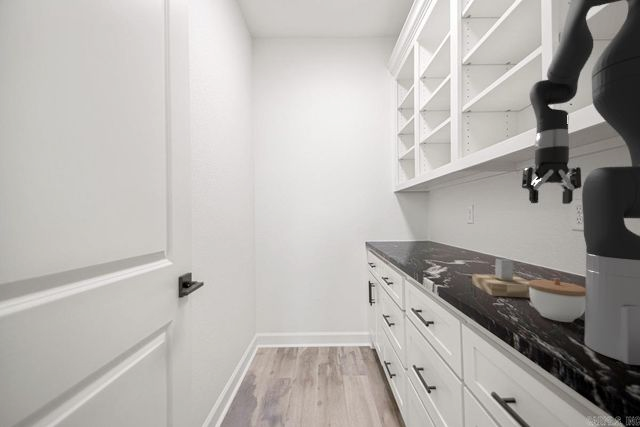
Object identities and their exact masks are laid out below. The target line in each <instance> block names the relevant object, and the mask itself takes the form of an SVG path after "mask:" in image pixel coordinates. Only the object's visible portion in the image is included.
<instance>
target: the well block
mask: <svg viewBox="0 0 640 427" xmlns="http://www.w3.org/2000/svg"><path fill="white" fill-rule="evenodd" d="M529 281H530V280H527V279H524V278H523V277H519V276H518V275H513V282H506V281H498V280H496V279H495V274H487V273H472V274H471V284H472V285H474V286H475V287H477V288H478V289H480V290H482V291H484V292H485V293H487V294H488V295H490V296H494V297H497V296H498V297H512V298H513V297H515V298H530V294H529Z"/></svg>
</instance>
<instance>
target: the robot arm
mask: <svg viewBox="0 0 640 427" xmlns="http://www.w3.org/2000/svg"><path fill="white" fill-rule="evenodd" d="M620 1H621V2H622V0H570V3H569V7H568V10H567V14H566V17H565V20H564V25H563V29H562V32H561V37H560V40H559V43H558V46H557V49H556V51H555V53H554V56H553V57H552V60H551V62H550V64H549V67H548V69H547V71H546V78H547V79H544V80H539V81H537V82H535V83H534V85H533V86H532V87H531V88H530V92H529V99H530V100H529V101H530V105H531V106H532V109H533V112H534V115H535V119H536V134H535V135H536V137H535V141H534V142H535V144H534V165H535V168H533V167H532V166H531V167H530V166H529V167H526V168H524V169H523V170H522V171H523V172H522V182H521V188H523V189H525V190H528V192H529V194H528V196H529V198H528V200H529V202H530V204H538V203H539V188H540V187H541V186H542V185H544V184H547V183H550V184H557V186H559V187H560V188H562V189H563V191H562V204H563V205H569V204H571V203H572V202H573V199H574V198H573V197H574V193H573V192H574V190H576V189H581V188H582V191H581V193H582V194H581V199H582V200H581V202H582V203H581V204H582V205H581V206H582V217H583V218H582V220H583V237H584V242H585V246H586V248H585V249H586V250H585V251H586V252H585V286H584V288H585V311H584V345H586V347H588V348H589V349H590V350H592V351H594V352H596V353H598V354H601V355H603V356H606V357H608V358H611V359H615V360H618V361H620V362H622V363H624V364H626V365H633V366H640V235H639V234H636V233H635V232H633V231H631V230H630V229H628V228H627V226H626V223H625V219H640V0H625V1H626V2H627V7H628V8H627V16H626V18H625V21H624V22H623V24H622V25H621V27H620V29H619V30H618V32H617V33H616V35H615V36H614V37H613V39H611V41H609V43H608V45H607V46H606V48H604V50H603V51H602V53H601V54H600V56H599V57H598V58H597V61H596V62H595V63H594V66H593V68H592V72H591V94H592V95H591V97H592V103H593V106H594V108H595V110H596V112H597V113H598V114H599V115H600V116H601V117H602V118H603V119H604V121H606V123H607V124H608V125H609V126H610V127H611V128H612V129H613V130H614V131H615V132H616V133H617V134H619V136H620V137H621V138H622V140H623V141H624V142H625V144H626V147H627V148H628V149H627V150H628V152H629V156H630V162H631V165H629V166H628V165H627V166H603V167H598V168H595V169H593V170H592V171H590V172H589V173H588V175H587V176H586V177H585V180H584V182H583V185H582V170H581V167H579V166H578V167H573V168H572V167H571V168H569V166H568V163H569V161H570V160H569V159H570V135H569V123H568V124H567V115H568V116H569V113H568V111H566V110H563V109H555V108H552V107H551V105H558V104H559V105H560V104H565V103H568V102H570V101H571V100H573V99H574V98H575V96H576V94H577V92H578V86H579V78H580V74H581V73H582V71H583V69H584V67H585V66H586V64H587V62H588V60H589V59H590V57H591V55H592V52H593V49H594V37H593V35H592V33H591V30H590V28H589V26H588V22H587V15H588V13H589V11H590V10H591V8H593V7H598V6H599V7H600V6H603V5H606V4H607V5H608V4H612V3H616V2H620ZM534 175H535V176H536V177H535V178H534V180H533V176H534ZM568 176H569V177H568Z"/></svg>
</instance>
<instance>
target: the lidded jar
mask: <svg viewBox="0 0 640 427" xmlns="http://www.w3.org/2000/svg"><path fill="white" fill-rule="evenodd" d="M528 281H529V294H530V297H529V299H530V303H531V304H532V306H533V308H535V310H536V311H537V312H539V315H540V316H541V317H543V318H545V319H549V320H551V321H556V322H560V323H561V322H563V323H572V322H574V321H575V320H576V319H578V318H580V317H581V316H582V315H584V314H585V286H581V285H578V284H575V283H569V282H564V281H561V279H560V278H558V277H554V278H553V280H551V279H550V280H548V279H532V280H528Z"/></svg>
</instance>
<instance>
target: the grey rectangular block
mask: <svg viewBox="0 0 640 427" xmlns="http://www.w3.org/2000/svg"><path fill="white" fill-rule="evenodd" d="M494 267H495V269H494V270H495V272H494V273H495V274H494V275H495V279H496V280H498V281H506V282H513V276H514V260H512V259H509V258H495V266H494Z"/></svg>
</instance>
